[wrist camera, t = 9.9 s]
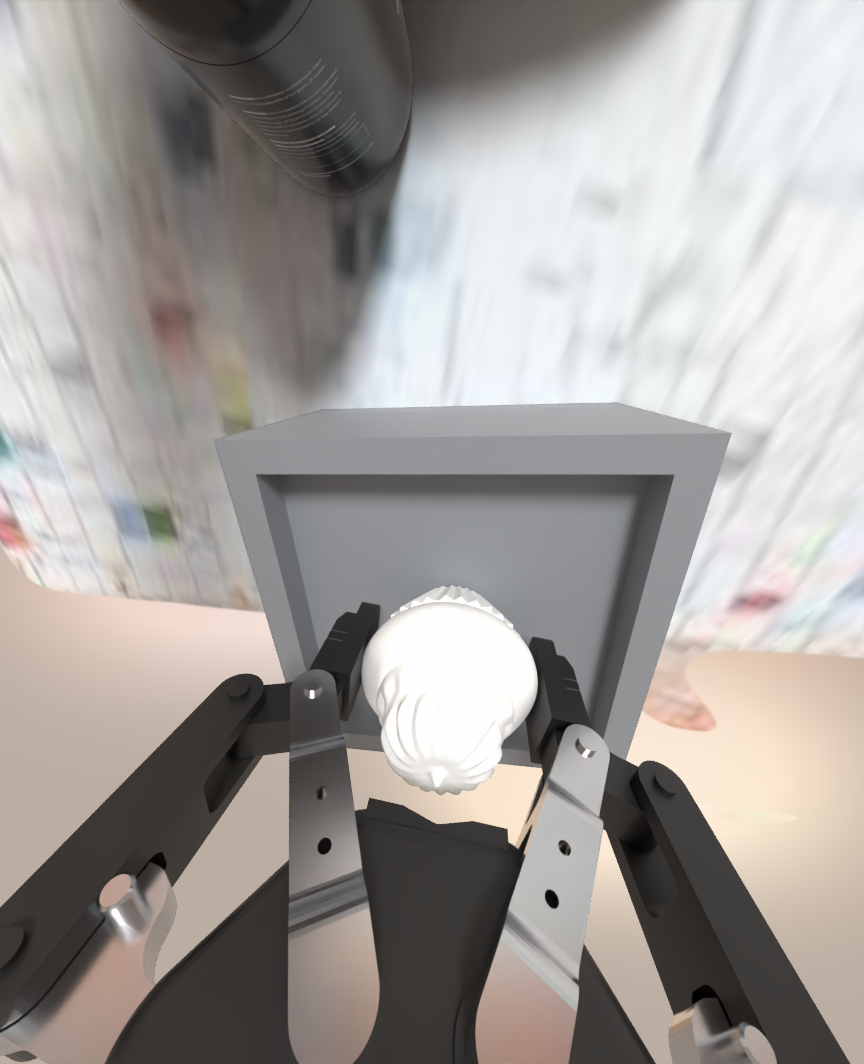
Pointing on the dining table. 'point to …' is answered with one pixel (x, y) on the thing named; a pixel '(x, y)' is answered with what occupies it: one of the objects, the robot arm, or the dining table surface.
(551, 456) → the grey square open box
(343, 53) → the supplement bottle
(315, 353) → the dining table surface
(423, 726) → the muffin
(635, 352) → the dining table surface
